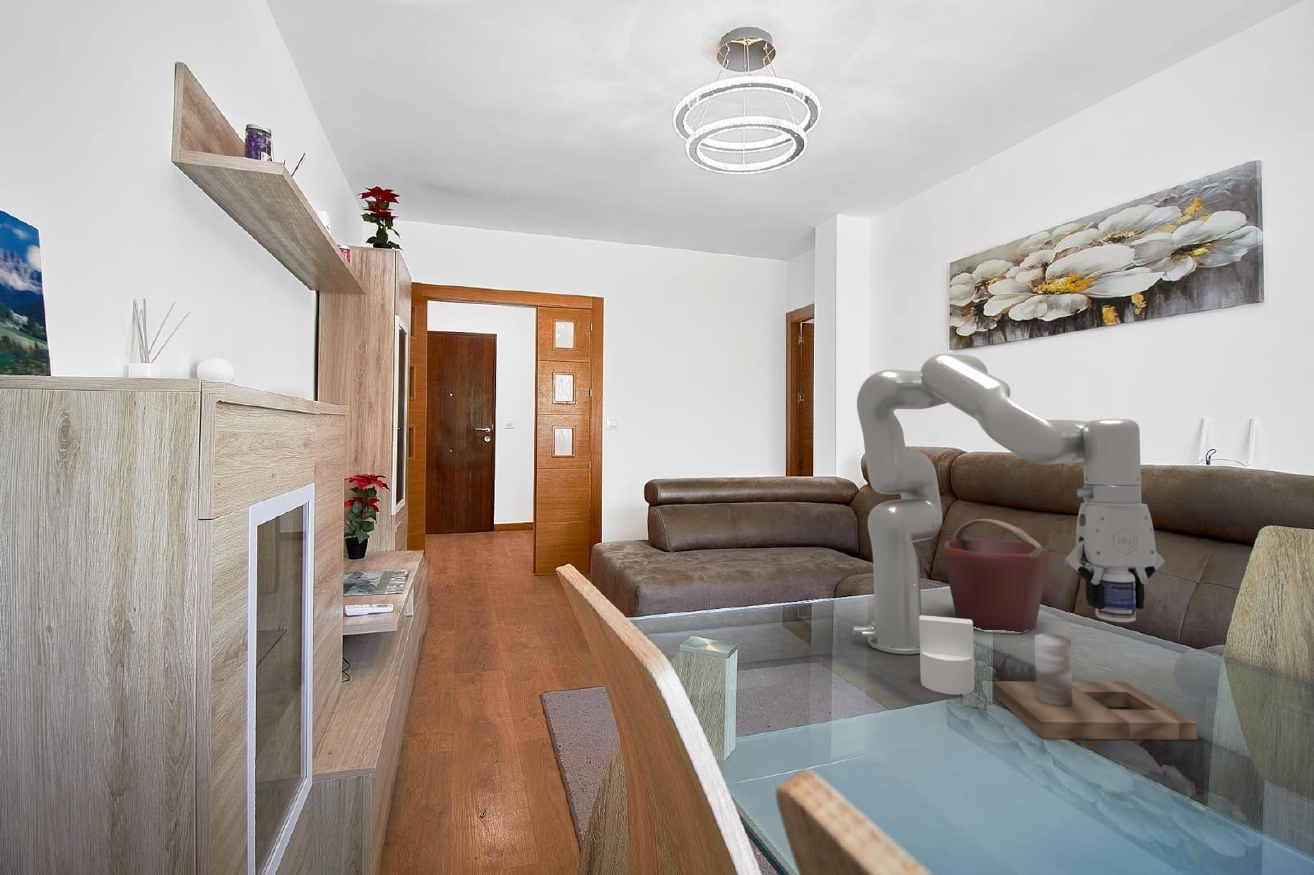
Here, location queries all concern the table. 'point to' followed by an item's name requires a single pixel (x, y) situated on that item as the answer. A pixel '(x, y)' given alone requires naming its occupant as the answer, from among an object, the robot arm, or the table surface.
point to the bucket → (996, 578)
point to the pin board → (1086, 702)
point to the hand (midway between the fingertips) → (1115, 605)
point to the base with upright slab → (946, 654)
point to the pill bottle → (1118, 595)
